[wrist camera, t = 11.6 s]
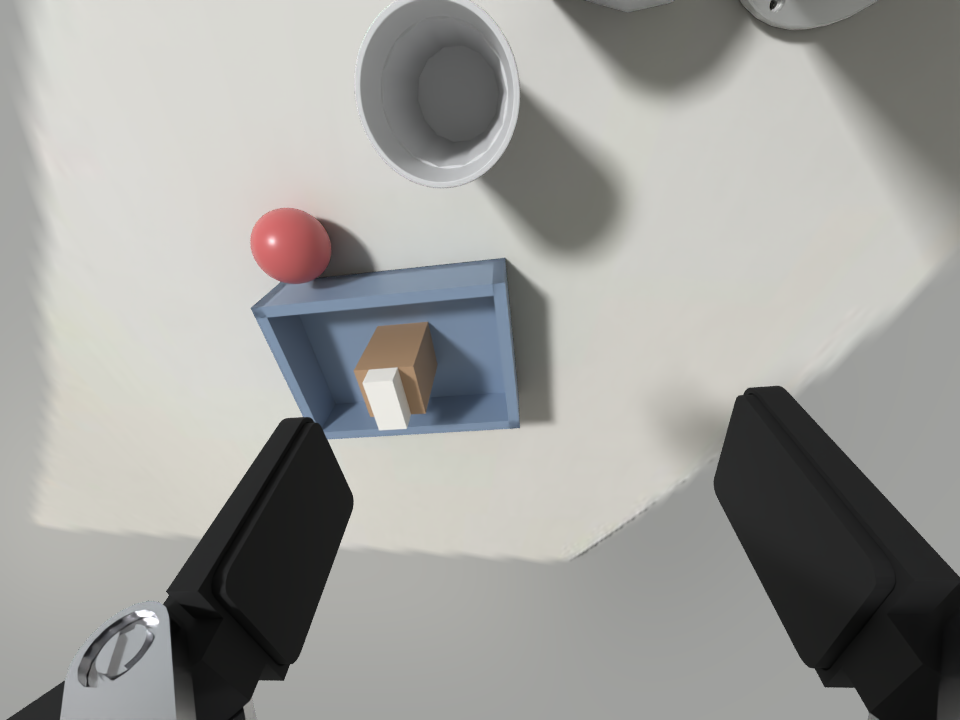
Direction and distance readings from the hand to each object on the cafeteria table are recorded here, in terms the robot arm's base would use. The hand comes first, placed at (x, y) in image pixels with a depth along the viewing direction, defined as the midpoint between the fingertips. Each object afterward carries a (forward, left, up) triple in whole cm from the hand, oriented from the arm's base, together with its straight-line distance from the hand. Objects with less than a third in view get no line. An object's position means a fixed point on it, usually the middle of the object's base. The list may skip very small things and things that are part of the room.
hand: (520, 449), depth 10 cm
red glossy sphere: (+18, +2, -28) cm, 34 cm away
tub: (+12, +13, -28) cm, 33 cm away
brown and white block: (+11, +13, -27) cm, 32 cm away
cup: (+3, -7, -28) cm, 30 cm away
